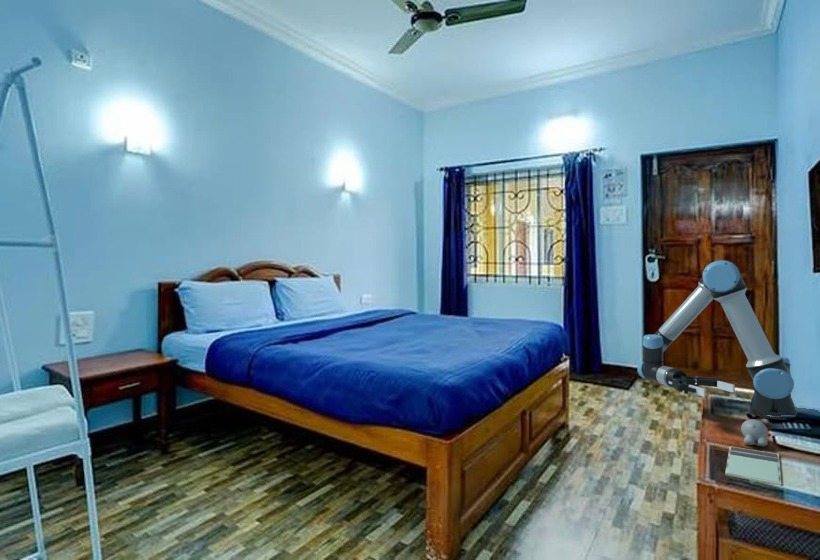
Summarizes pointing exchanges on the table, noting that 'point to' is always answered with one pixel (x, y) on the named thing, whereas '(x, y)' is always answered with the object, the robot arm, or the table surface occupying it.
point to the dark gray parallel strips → (754, 453)
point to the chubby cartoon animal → (754, 432)
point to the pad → (753, 468)
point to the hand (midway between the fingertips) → (719, 390)
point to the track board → (754, 458)
